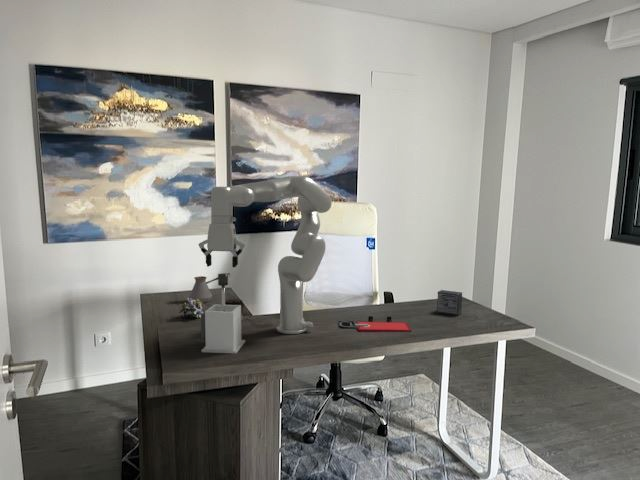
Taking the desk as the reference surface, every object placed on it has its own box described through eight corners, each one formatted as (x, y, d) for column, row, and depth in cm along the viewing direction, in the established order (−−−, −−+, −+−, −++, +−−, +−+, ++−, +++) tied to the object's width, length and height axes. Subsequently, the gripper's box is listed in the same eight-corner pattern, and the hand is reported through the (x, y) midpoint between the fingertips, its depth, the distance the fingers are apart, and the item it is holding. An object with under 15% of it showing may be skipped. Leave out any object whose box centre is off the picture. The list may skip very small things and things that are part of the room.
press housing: (245, 341, 184) (244, 304, 182) (236, 353, 171) (235, 313, 169) (208, 340, 185) (207, 303, 184) (196, 351, 172) (195, 312, 171)
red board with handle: (338, 321, 213) (340, 332, 198) (338, 315, 213) (341, 326, 198) (404, 322, 214) (411, 333, 199) (404, 316, 214) (411, 327, 199)
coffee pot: (188, 304, 242) (187, 275, 240) (191, 299, 253) (190, 271, 251) (230, 303, 244) (229, 275, 242) (231, 298, 255) (231, 271, 254)
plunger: (237, 323, 181) (236, 272, 179) (231, 330, 173) (230, 276, 170) (216, 322, 182) (215, 271, 179) (209, 329, 173) (208, 275, 171)
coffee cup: (234, 335, 192) (233, 304, 191) (219, 331, 197) (218, 301, 195) (248, 329, 200) (247, 299, 198) (233, 326, 204) (233, 297, 202)
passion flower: (199, 329, 217) (200, 313, 210) (175, 325, 216) (175, 308, 208) (205, 310, 226) (206, 294, 218) (182, 307, 225) (182, 290, 217)
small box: (462, 313, 229) (462, 292, 228) (458, 316, 224) (459, 294, 223) (440, 309, 235) (441, 289, 234) (436, 312, 229) (437, 291, 228)
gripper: (247, 220, 175) (247, 265, 177) (202, 219, 177) (202, 264, 179) (242, 221, 168) (241, 268, 170) (195, 220, 170) (195, 267, 171)
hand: (221, 266), depth 174 cm, fingers open, 9 cm apart
